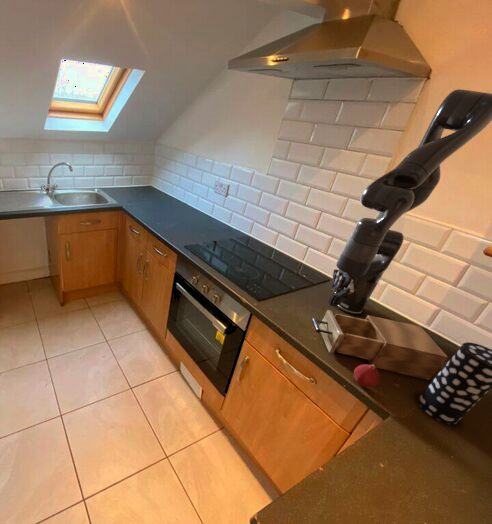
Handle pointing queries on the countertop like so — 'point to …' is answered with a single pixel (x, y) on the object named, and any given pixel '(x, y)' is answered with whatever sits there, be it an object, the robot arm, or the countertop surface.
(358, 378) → the onion
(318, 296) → the countertop surface
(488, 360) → the white-spotted black cylinder
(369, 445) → the countertop surface
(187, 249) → the countertop surface
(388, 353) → the cabinet
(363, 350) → the drawer
